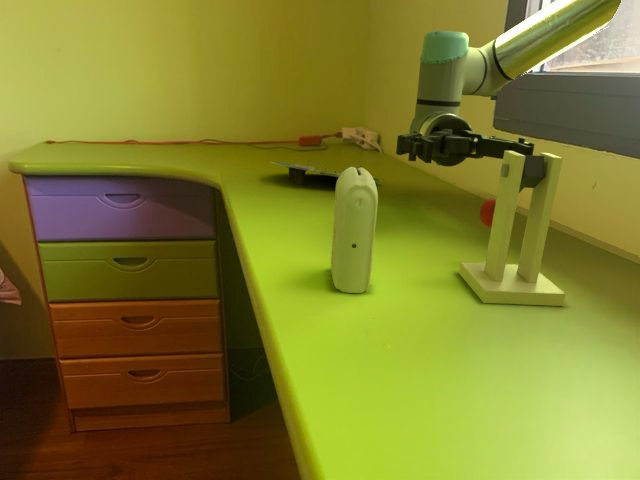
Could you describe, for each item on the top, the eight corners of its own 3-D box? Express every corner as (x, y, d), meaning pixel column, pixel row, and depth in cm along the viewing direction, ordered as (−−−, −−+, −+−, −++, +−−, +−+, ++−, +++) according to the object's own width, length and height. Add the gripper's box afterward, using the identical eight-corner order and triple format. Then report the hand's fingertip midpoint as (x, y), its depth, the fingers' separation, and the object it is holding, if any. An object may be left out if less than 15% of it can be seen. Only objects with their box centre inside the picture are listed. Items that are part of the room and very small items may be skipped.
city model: (404, 196, 146) (409, 166, 143) (333, 192, 128) (338, 157, 126) (316, 181, 160) (320, 153, 158) (242, 175, 143) (245, 144, 141)
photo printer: (372, 294, 76) (383, 176, 70) (333, 293, 75) (341, 173, 69) (363, 269, 85) (372, 162, 79) (328, 268, 84) (335, 160, 79)
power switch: (458, 273, 86) (477, 145, 79) (528, 276, 86) (554, 149, 79) (483, 303, 75) (508, 159, 68) (563, 306, 76) (596, 163, 69)
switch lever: (475, 231, 88) (475, 204, 88) (503, 232, 88) (503, 205, 89) (518, 181, 73) (518, 148, 73) (551, 183, 73) (551, 150, 74)
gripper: (516, 167, 115) (562, 188, 96) (368, 160, 113) (385, 179, 94) (525, 118, 111) (574, 130, 93) (372, 109, 110) (391, 119, 91)
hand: (479, 155), depth 94 cm, fingers open, 13 cm apart
